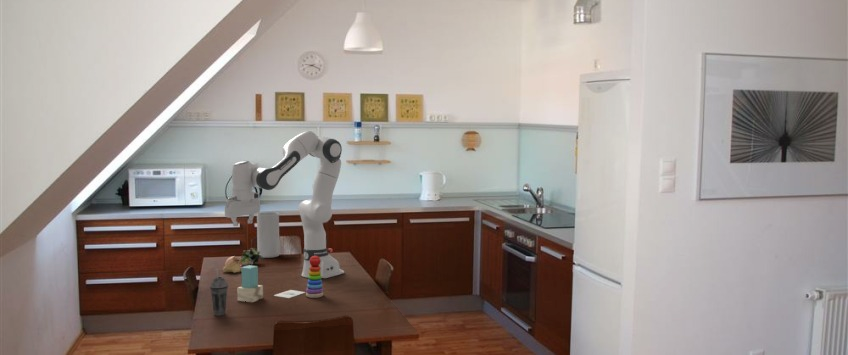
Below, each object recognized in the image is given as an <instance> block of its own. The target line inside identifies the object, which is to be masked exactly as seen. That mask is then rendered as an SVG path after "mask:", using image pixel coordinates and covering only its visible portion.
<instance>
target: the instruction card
mask: <svg viewBox="0 0 848 355" xmlns="http://www.w3.org/2000/svg"><path fill="white" fill-rule="evenodd" d="M306 292H307V291H306ZM306 292H305V291H299V290H294V289H289V290H286V291H283V292H280V293H276V294H274V295H273V297H279V298H285V299H290V298H294V297H297V296H299V295H302V294H306Z"/></svg>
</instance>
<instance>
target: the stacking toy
mask: <svg viewBox="0 0 848 355" xmlns="http://www.w3.org/2000/svg"><path fill="white" fill-rule="evenodd" d="M309 262H310V264H311V266H310V268H309V269H310V271H309V276H308V278H307V279H308V280H307V285H306V289H305V291H306V293H305V296H306V297H307V298H311V299H312V298H313V299H314V298H315V299H316V298H321V297H323V296H324V292H323V291H324V289H323V280H322V278H321V275H320V274H321V272H320V271H319V270H320V269H321V268H320V266H319V264H320V262H321V260H320V258H319V257H318V256H312V257H311V258H310V261H309Z"/></svg>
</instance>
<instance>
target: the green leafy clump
mask: <svg viewBox="0 0 848 355" xmlns="http://www.w3.org/2000/svg"><path fill="white" fill-rule="evenodd" d="M259 252H260V251H258V249H257V248H254V247H250V248H249V249H248V250H243V253H241V254H242V255H241V257H240V259H241V261H240V262H238V265H240V263H241V264H242V265H243V263H245V262H247V264H248V265H251V266H253V265H255V264H256V263H259V262H260V260H259V259H262V260H264V259H265V258H264V257H262V256H261V254H260V253H259Z"/></svg>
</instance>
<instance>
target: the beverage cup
mask: <svg viewBox="0 0 848 355" xmlns="http://www.w3.org/2000/svg"><path fill="white" fill-rule="evenodd" d="M215 269H216V277H215V278H213V279H212V281H211V282H210V284H209V290H210V293H211V302H212V309H213V310H212V311H213V315H214V316H224V315H226V309H227V308H226V307H227V294H228V293H227V292H228V288H229V285H228V282H227V280H226V279H225V278H224V277H221V276H219V268H218V266H217V267H216V268H215Z"/></svg>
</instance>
